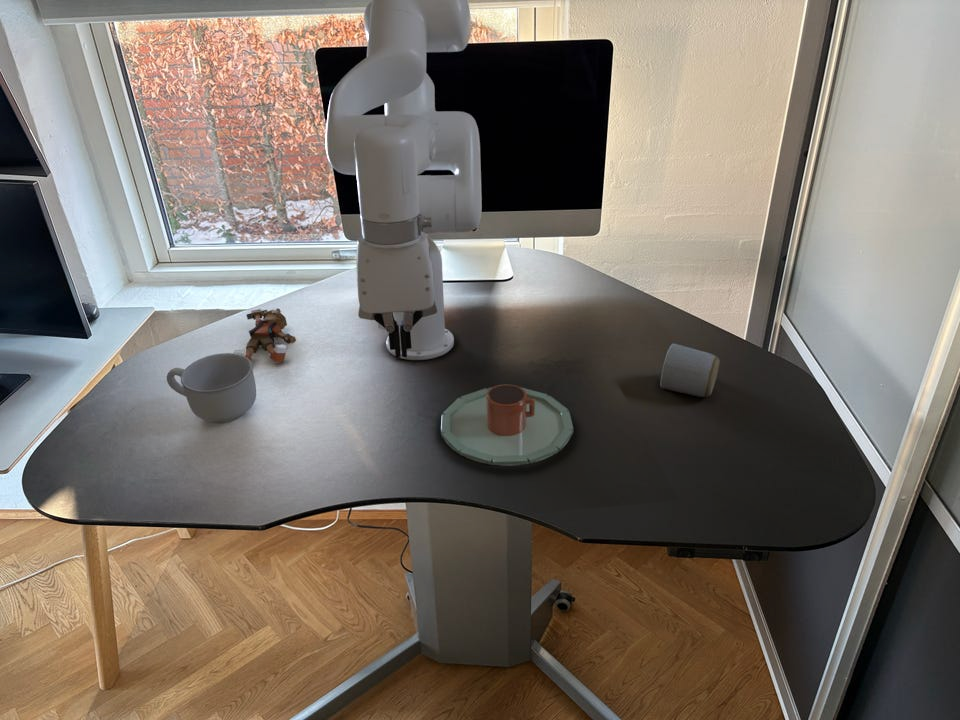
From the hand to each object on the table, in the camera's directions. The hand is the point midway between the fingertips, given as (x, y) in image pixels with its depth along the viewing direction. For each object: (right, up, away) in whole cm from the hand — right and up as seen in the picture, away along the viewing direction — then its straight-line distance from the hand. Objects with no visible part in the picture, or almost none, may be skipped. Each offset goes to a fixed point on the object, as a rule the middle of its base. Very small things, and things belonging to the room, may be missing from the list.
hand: (401, 352), depth 102 cm
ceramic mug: (+46, -6, +19) cm, 50 cm away
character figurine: (-29, +2, +35) cm, 45 cm away
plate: (+15, -12, +9) cm, 21 cm away
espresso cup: (+15, -11, +8) cm, 20 cm away
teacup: (-31, -9, +15) cm, 36 cm away
